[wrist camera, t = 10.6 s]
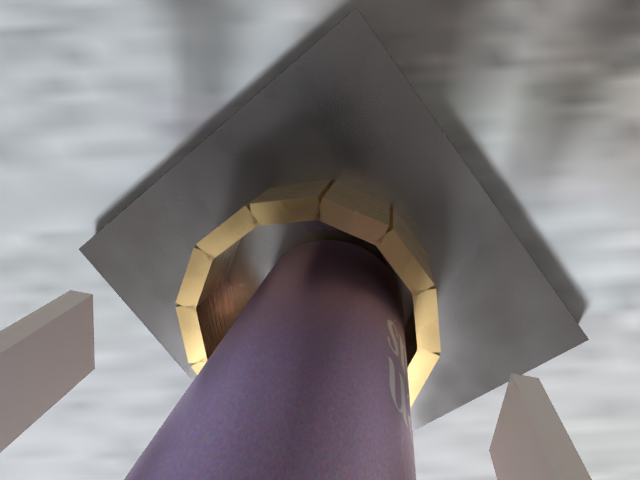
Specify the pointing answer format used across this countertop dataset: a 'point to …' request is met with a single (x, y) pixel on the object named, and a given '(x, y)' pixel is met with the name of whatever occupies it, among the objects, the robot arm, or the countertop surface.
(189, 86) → the countertop surface
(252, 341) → the beverage can
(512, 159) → the countertop surface
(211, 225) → the pipe socket
